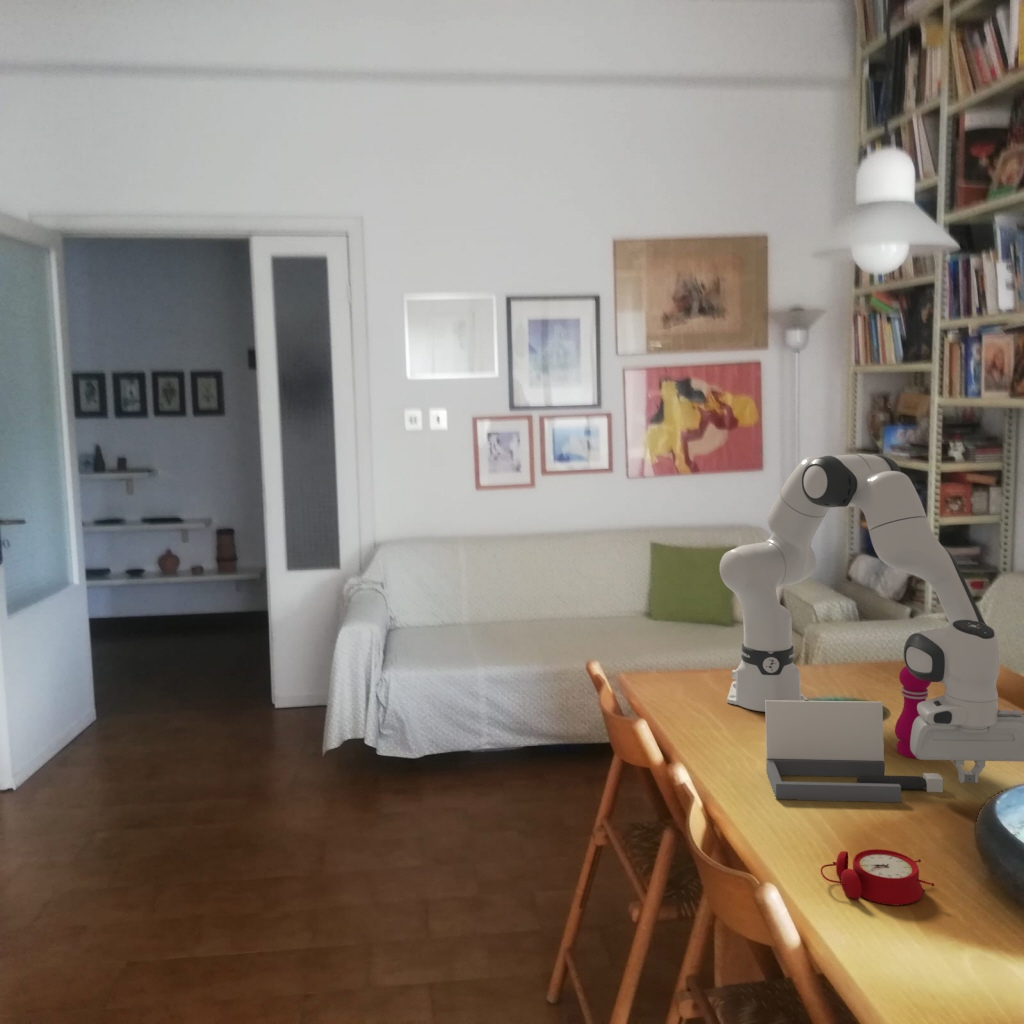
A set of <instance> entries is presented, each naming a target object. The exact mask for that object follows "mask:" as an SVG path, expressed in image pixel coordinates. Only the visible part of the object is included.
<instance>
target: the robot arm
mask: <svg viewBox="0 0 1024 1024" xmlns="http://www.w3.org/2000/svg"><path fill="white" fill-rule="evenodd" d="M855 507H857V508H859V509H860V510H861V511H862V513H863V515H864V517H865V521H866V525H867V530H868V533H869V538H870V541H871V545H872V547H873V549H874V552H875V554H876V556H877V557H878V559H879V560H880V561H882V563H883V564H885V565H886V566H888V567H890V568H892V569H894V570H896V571H899V572H903V573H907V574H909V575H912V576H915V577H917V578H920V579H921V580H923V581H925V582H926V583H928V584H929V585H930V586H931V588H932V589H933V590H934V591H935V593H936V596H937V598H938V601H939V602H940V606H941V607H942V609H943V611H944V614H945V617H946V618H947V621H948V622H949V625H947V626H944V627H941V628H935V629H929V630H928V629H927V630H922V631H918V632H914V633H912V634H910V636H909V637H908V638H907V639H906V641H905V643H904V646H903V661H904V663H905V666H906V667H907V668H908V670H909V671H910V673H911V674H912V675H914V676H915V677H916V678H918V679H920V680H923V681H929V682H931V683H941V684H942V685H944V687H945V688H944V694H943V695H940V696H936V697H933V698H930V699H926V701H922V702H920V703H918V705H917V711H918V713H919V715H920V716H918V717H917V718H916V719H915V720H914V722H913V726H912V731H911V739H910V749H911V752H912V753H913V754H914V755H915V757H916V758H915V759H917V760H921V761H922V760H923V761H926V760H927V761H952V763H953V765H954V766H955V768H956V770H957V771H958V775H957V776H958V781H959V782H960V783H962V784H963V783H964V784H965V783H967V784H972V783H973V784H978V783H979V775H980V774H981V772H982V771H983V770H984V769H985V767H986V762H1022V763H1023V762H1024V712H1023V711H1022V710H1020V709H1019V710H1018V709H1017V710H1016V709H1015V710H1008V709H998V708H999V705H998V704H999V699H998V698H999V693H998V690H997V680H998V678H999V675H1000V646H999V639H998V637H997V633H996V631H995V630H994V629H993V628H992V627H991V626H989V625H987V624H986V621H985V620H984V618H983V616H982V615H981V613H980V610H979V608H978V606H977V604H976V602H975V598H974V597H973V594H972V593H971V590H970V589H969V586H968V584H967V582H966V580H965V578H964V575H963V574H962V571H961V569H960V566H959V565H958V563H957V561H956V559H955V558H954V556H953V554H952V553H951V552H950V551H949V550H948V549H947V548H945V546H943V545H942V544H941V543H940V541H939V540H938V539H937V537H936V535H935V534H934V532H933V530H932V528H931V526H930V523H929V521H928V518H927V517H928V516H927V515H926V512H925V511H926V510H925V508H924V506H923V502H922V500H921V498H920V496H919V493H918V492H917V490H916V488H915V486H914V484H913V482H912V480H911V478H910V477H909V476H908V475H907V474H905V473H904V472H902V470H901V468H900V466H899V465H898V463H897V462H896V461H895V460H893V459H892V458H890V457H888V456H885V455H882V454H874V453H873V454H864V453H849V454H840V455H833V456H832V455H825V456H821V455H811V456H807V457H805V458H804V459H802V461H800V462H799V464H798V465H797V466H796V467H795V469H794V470H793V471H792V472H791V474H790V475H789V476H788V477H787V479H786V480H785V482H784V484H783V486H782V487H781V489H780V491H779V493H778V495H777V496H776V498H775V500H774V502H773V504H772V505H771V508H770V510H769V511H768V514H767V518H766V519H767V525H768V528H769V530H770V531H771V535H770V537H769V538H768V539H766V540H765V541H761V542H756V543H750V544H742V545H740V546H737V547H734V548H733V549H730V550H728V551H726V552H724V554H723V555H722V556H721V559H720V561H719V574H720V579H721V580H722V582H723V585H725V586H726V587H727V588H728V589H729V590H730V591H732V592H733V593H734V595H735V596H736V598H737V600H738V603H739V605H740V608H741V613H742V622H743V624H742V625H743V643H742V644H741V648H740V653H741V661H740V662H739V664H738V666H737V668H736V669H731V679H732V680H733V681H731V684H730V688H729V692H728V694H727V698H726V702H727V704H730V705H735V706H739V707H742V708H745V709H747V710H752V711H757V712H764V713H765V700H776V701H805V700H808V698H807V697H805V696H804V694H802V693H801V691H802V690H801V689H802V688H801V672H800V671H801V670H800V669H799V668H798V667H797V665H796V664H794V659H795V658H794V656H795V650H794V649H795V648H794V646H793V645H792V642H793V641H792V640H793V639H792V638H793V634H792V633H793V631H792V630H793V621H792V620H793V617H792V614H791V612H790V611H789V609H788V608H786V607H785V606H784V605H781V604H780V602H779V600H778V596H777V595H778V594H777V588H781V587H787V586H792V585H796V584H798V583H801V582H802V581H805V580H806V579H808V578H810V577H811V576H812V575H813V574H814V572H815V569H816V566H817V563H816V562H817V559H816V555H815V552H814V550H813V548H812V543H813V539H814V537H815V535H816V533H817V532H818V529H819V527H820V526H821V524H822V522H823V520H824V519H825V517H826V516H827V514H828V511H829V509H830V508H855ZM808 701H809V700H808ZM965 761H966V762H967V761H969V762H970V761H971V762H972V761H973V762H974V765H973V766H972V769H971V770H964V768H963V767H964V766H965Z"/></svg>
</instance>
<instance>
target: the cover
mask: <svg viewBox="0 0 1024 1024" xmlns="http://www.w3.org/2000/svg"><path fill="white" fill-rule="evenodd" d="M883 706H884V705H883V702H882V701H869V700H868V701H861V700H860V701H859V700H858V701H854V700H851V701H849V700H847V701H846V700H808V701H776V700H765V712H764V713H765V750H766V751H765V753H766V754H765V757H766V758H767V759H812V760H867V761H884V762H885V757H884V755H885V753H884V751H885V750H884V748H885V747H884V711H883ZM766 758H765V759H766Z"/></svg>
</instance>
